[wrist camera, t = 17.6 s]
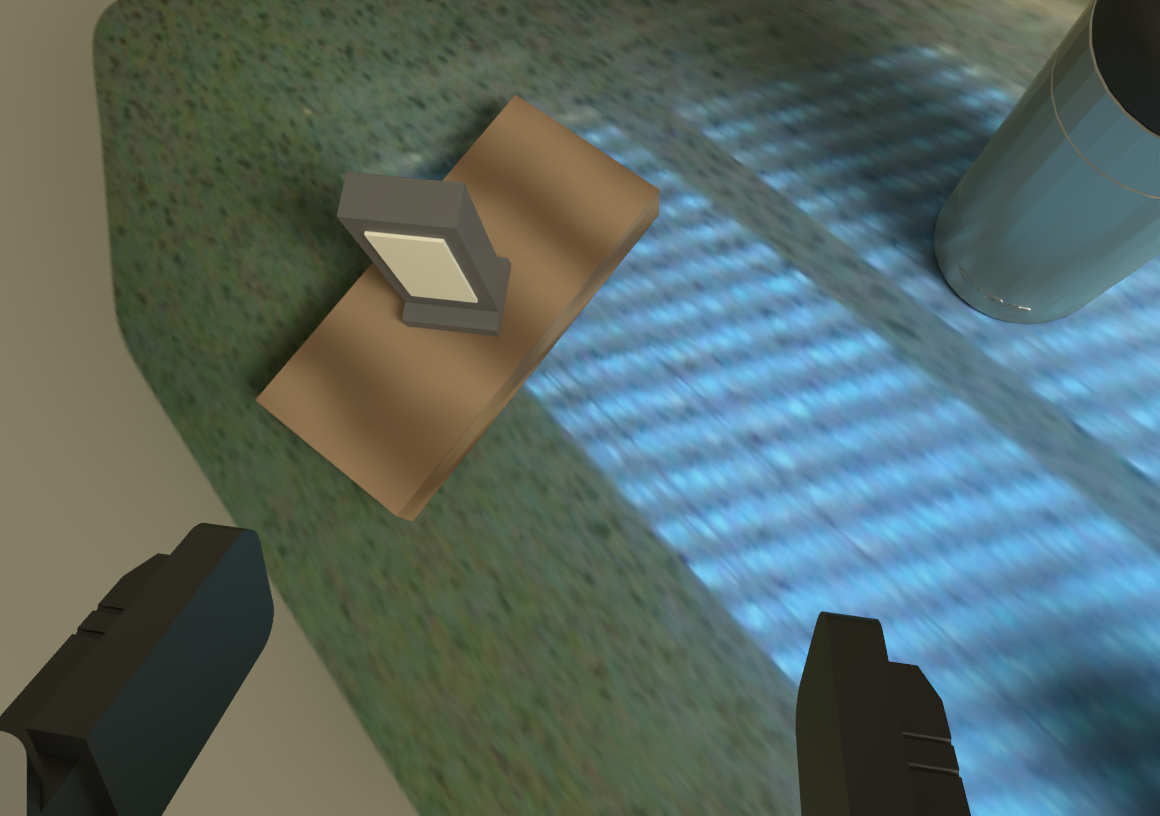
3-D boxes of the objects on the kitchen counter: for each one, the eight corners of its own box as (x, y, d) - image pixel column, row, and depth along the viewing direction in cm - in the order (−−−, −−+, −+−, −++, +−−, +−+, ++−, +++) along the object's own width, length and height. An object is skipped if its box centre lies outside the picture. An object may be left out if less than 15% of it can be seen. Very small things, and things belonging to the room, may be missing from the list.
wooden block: (523, 123, 51) (515, 94, 48) (658, 214, 49) (659, 189, 46) (279, 412, 48) (255, 400, 45) (412, 522, 46) (396, 516, 43)
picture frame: (420, 256, 46) (350, 150, 35) (511, 265, 45) (468, 160, 35) (407, 326, 45) (331, 239, 34) (499, 336, 44) (451, 251, 34)
